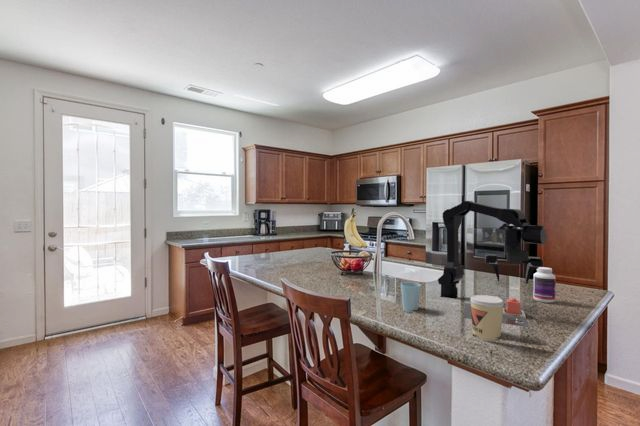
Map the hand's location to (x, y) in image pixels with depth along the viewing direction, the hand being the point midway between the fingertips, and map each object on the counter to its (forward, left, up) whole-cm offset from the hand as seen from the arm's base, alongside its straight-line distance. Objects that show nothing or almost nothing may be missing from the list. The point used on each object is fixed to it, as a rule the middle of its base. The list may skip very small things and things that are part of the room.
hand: (512, 282), depth 125 cm
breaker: (-7, 0, -10) cm, 12 cm away
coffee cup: (-9, -30, -12) cm, 34 cm away
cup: (-35, -15, -12) cm, 40 cm away
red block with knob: (0, -6, -11) cm, 12 cm away
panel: (-6, -8, -12) cm, 16 cm away
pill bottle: (+15, +26, -12) cm, 32 cm away
